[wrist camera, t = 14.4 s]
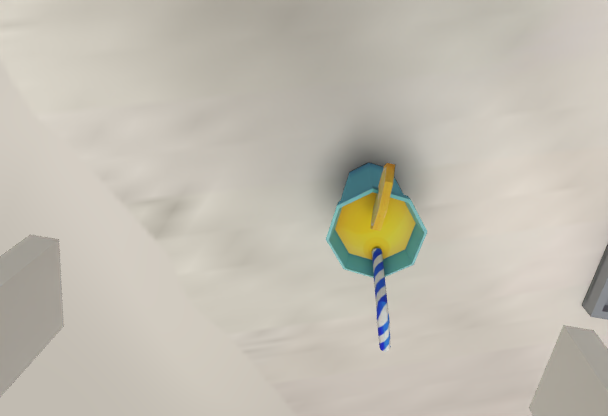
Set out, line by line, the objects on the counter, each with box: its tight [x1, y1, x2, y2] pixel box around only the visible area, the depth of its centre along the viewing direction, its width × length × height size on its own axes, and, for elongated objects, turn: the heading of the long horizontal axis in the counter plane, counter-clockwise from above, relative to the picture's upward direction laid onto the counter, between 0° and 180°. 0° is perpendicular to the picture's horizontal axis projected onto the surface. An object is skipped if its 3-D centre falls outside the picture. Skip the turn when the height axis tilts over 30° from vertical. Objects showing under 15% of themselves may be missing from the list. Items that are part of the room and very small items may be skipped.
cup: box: [326, 163, 427, 352], centre depth 42 cm, size 14×8×15 cm, turn 7°
